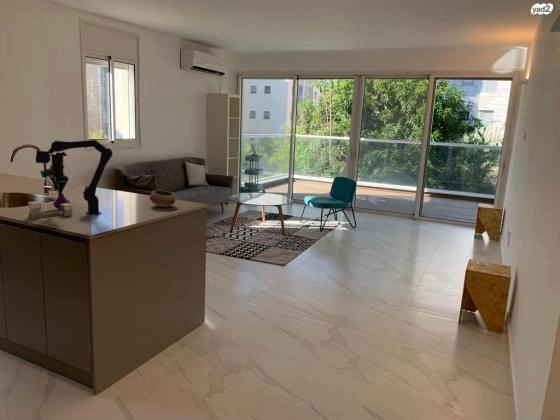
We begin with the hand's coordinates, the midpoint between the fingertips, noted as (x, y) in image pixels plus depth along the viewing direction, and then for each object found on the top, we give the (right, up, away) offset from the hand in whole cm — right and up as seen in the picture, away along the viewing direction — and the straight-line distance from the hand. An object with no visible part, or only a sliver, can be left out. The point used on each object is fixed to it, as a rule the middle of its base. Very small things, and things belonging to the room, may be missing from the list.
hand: (58, 191), depth 243 cm
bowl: (+48, -8, +39) cm, 62 cm away
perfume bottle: (-6, -9, +17) cm, 20 cm away
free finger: (+3, -13, +3) cm, 13 cm away
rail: (-6, -13, -2) cm, 15 cm away
